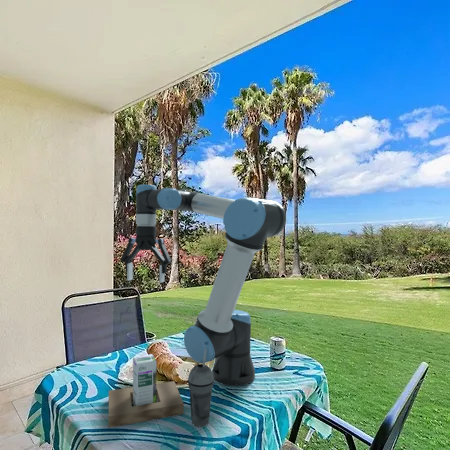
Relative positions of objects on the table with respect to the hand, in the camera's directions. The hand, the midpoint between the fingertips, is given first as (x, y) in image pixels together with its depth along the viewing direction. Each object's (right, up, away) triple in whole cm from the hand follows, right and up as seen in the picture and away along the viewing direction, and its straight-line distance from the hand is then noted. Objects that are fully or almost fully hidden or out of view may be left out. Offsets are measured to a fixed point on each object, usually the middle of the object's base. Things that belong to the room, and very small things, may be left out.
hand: (145, 281), depth 127 cm
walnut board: (+7, -32, -30) cm, 44 cm away
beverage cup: (+24, -33, -37) cm, 54 cm away
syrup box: (+7, -32, -30) cm, 44 cm away
